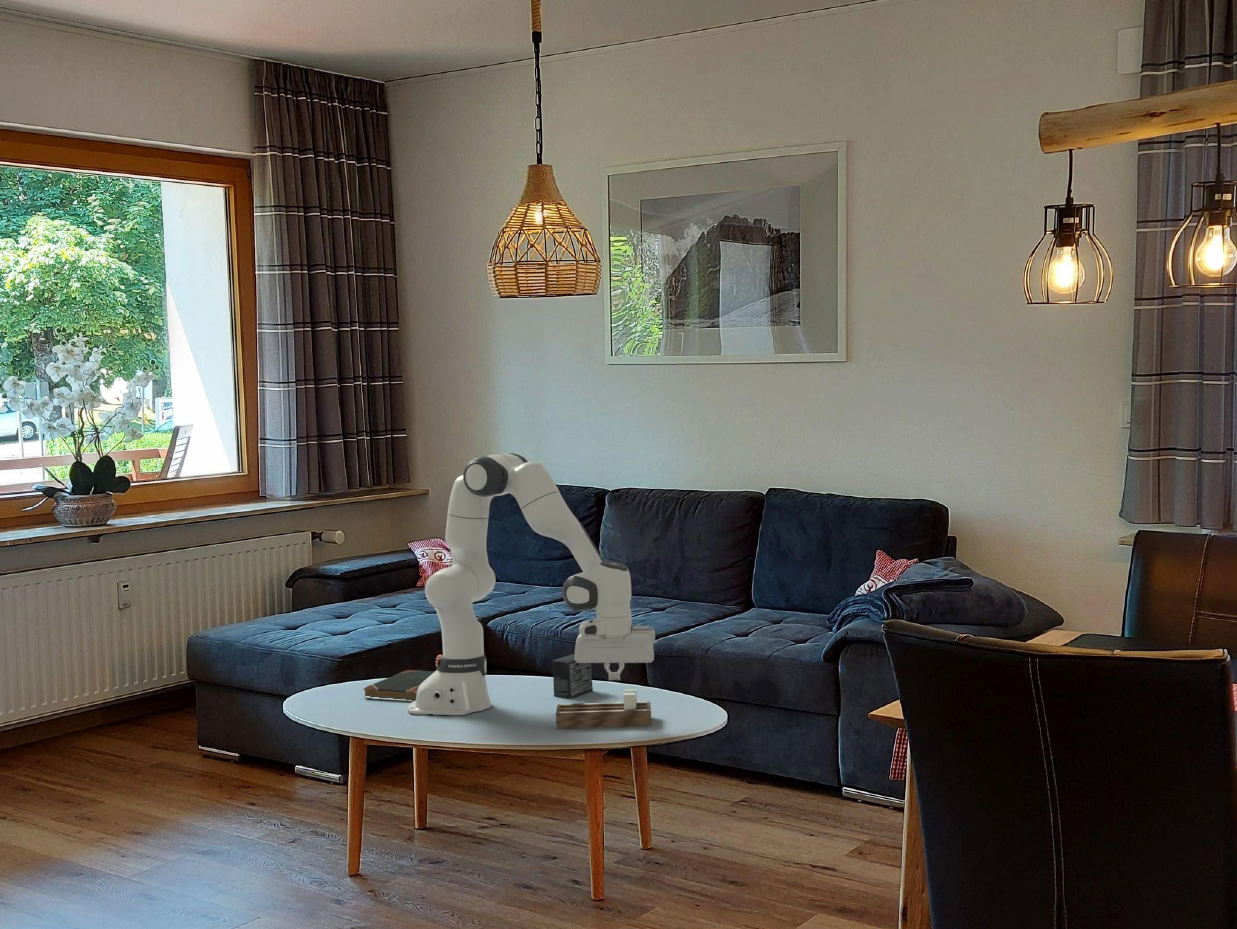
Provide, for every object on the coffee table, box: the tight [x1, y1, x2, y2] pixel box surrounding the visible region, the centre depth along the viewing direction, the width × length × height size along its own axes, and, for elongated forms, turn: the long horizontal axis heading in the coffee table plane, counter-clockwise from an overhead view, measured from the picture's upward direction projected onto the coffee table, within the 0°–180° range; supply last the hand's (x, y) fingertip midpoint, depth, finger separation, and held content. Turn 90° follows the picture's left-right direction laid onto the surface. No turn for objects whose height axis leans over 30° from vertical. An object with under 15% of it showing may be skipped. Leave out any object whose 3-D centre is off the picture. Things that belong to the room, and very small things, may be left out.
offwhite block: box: [623, 692, 637, 710], centre depth 321 cm, size 3×2×6 cm
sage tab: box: [624, 688, 638, 706], centre depth 325 cm, size 3×2×6 cm
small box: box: [552, 653, 594, 700], centre depth 356 cm, size 11×6×10 cm, turn 144°
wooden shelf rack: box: [555, 701, 652, 730], centre depth 324 cm, size 24×9×4 cm, turn 90°
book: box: [363, 669, 435, 701], centre depth 367 cm, size 17×4×25 cm
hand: (614, 679), depth 321 cm, fingers closed
